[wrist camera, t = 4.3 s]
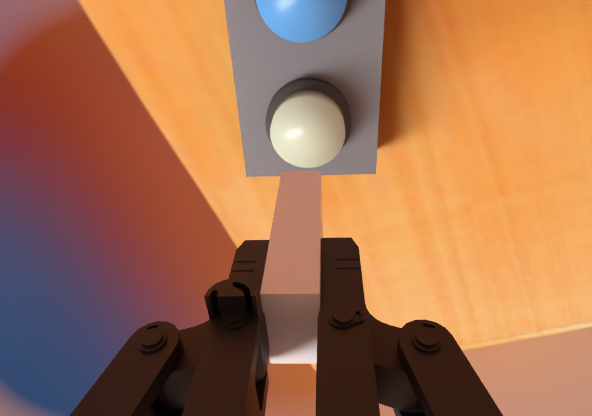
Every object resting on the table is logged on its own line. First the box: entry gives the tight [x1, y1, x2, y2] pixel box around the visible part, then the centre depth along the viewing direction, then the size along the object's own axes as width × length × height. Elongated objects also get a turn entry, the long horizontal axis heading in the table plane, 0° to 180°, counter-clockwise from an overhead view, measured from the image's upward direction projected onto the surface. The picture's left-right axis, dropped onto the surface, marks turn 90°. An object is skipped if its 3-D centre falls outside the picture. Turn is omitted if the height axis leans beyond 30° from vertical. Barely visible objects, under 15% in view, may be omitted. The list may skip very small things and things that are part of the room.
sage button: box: [270, 90, 345, 168], centre depth 29 cm, size 5×5×2 cm
